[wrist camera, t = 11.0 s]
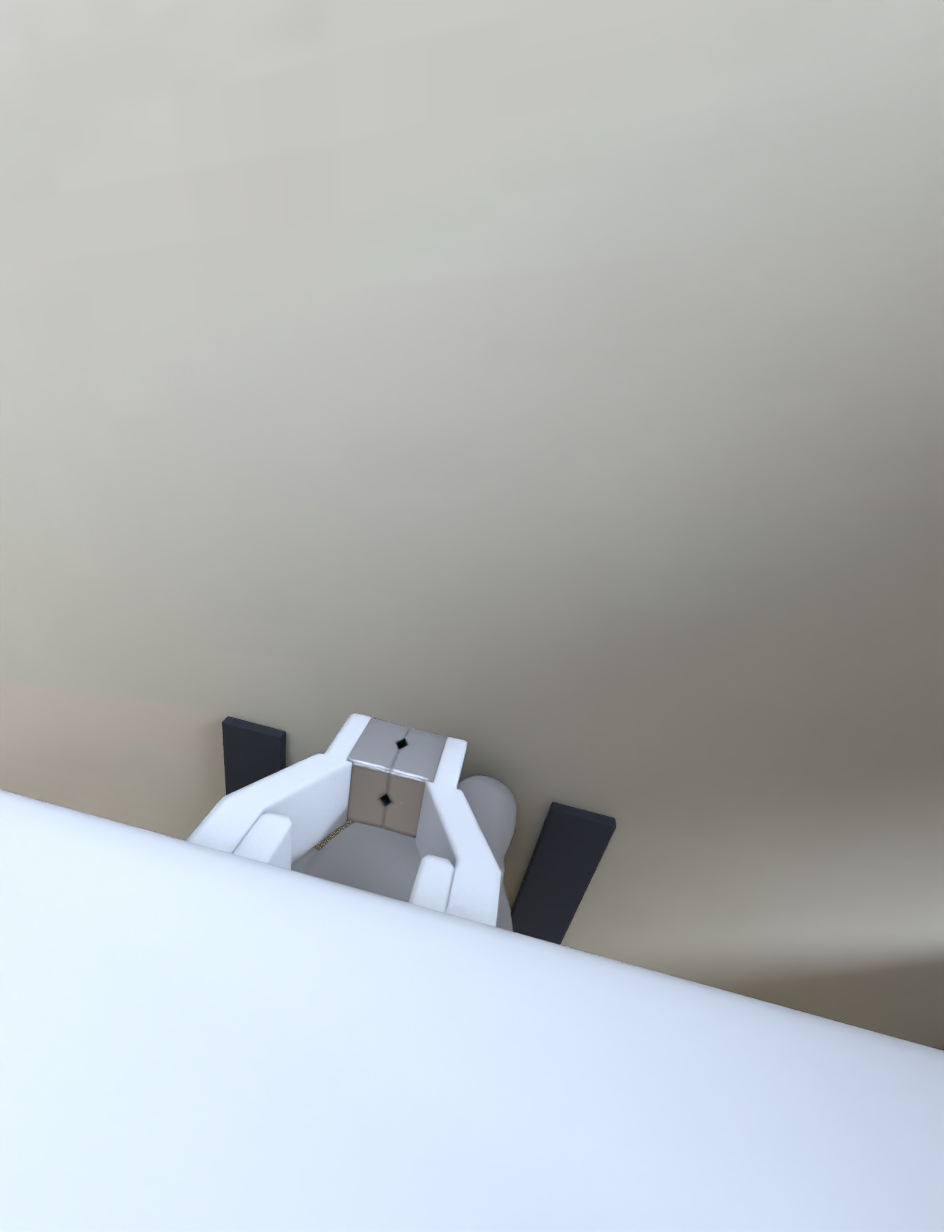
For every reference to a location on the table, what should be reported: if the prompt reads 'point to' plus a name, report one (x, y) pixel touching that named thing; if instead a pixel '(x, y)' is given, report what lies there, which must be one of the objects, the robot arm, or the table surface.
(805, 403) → the table surface
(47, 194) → the table surface
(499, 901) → the toy rhinoceros
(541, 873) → the u-shaped frame
